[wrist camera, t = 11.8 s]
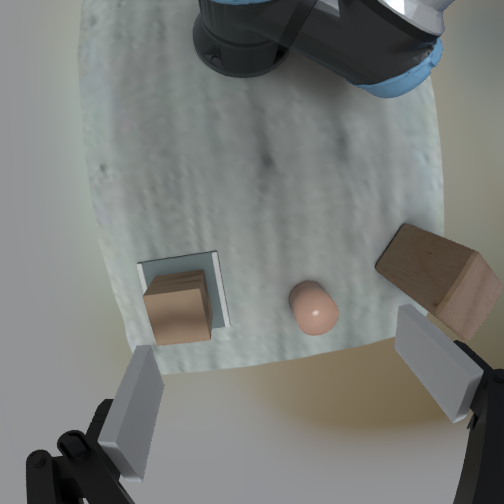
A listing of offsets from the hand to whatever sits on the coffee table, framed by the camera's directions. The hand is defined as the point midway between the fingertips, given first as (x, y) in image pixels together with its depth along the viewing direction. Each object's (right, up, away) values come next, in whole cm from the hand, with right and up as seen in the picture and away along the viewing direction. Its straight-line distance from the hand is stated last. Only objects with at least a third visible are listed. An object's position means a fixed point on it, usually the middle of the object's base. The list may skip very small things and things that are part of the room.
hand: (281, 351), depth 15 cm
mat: (-12, -2, +35) cm, 37 cm away
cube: (-12, -2, +34) cm, 36 cm away
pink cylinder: (+8, -3, +37) cm, 37 cm away
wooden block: (+26, +4, +36) cm, 45 cm away
